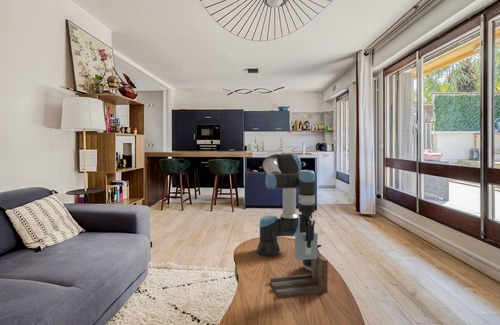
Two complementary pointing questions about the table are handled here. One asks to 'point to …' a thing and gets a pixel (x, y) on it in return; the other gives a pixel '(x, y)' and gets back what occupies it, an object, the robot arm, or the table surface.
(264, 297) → the table surface
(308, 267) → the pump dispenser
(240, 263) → the table surface
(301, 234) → the pale grey rectangular block
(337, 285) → the table surface
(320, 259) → the track sill
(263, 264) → the table surface
